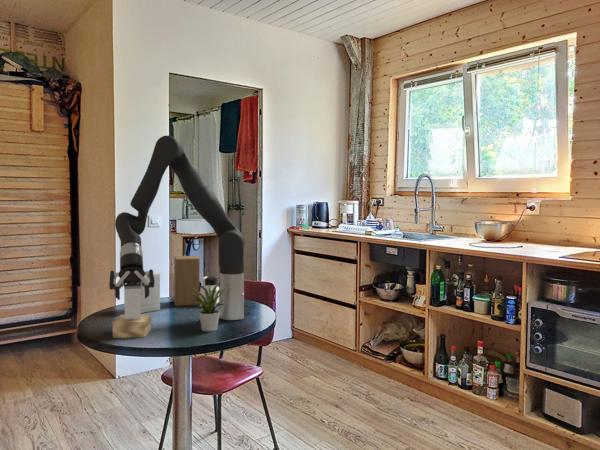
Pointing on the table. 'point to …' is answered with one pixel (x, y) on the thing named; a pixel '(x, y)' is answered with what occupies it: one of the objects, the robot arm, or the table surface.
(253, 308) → the table surface
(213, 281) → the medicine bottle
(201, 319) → the house plant
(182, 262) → the wooden block
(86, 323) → the table surface
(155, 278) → the supplement box
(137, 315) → the tea tin
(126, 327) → the oak stand
